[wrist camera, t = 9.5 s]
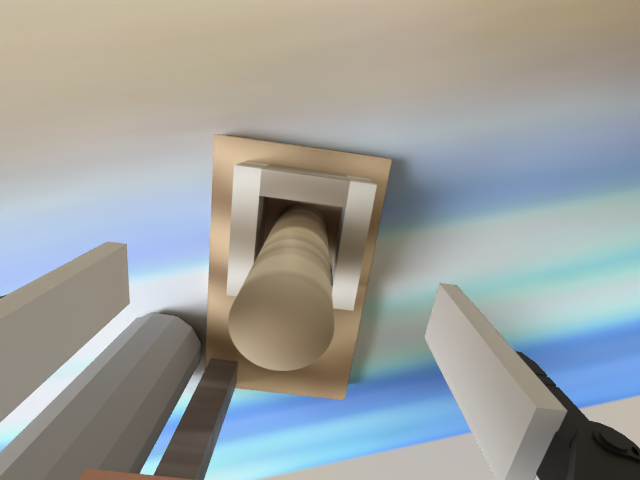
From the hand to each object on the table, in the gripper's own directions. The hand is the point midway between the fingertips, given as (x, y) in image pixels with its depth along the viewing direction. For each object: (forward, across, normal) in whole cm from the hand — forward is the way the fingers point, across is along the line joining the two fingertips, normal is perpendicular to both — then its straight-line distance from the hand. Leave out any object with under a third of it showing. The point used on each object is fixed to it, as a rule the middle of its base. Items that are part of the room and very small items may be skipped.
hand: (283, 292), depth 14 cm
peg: (+12, 0, -1) cm, 12 cm away
